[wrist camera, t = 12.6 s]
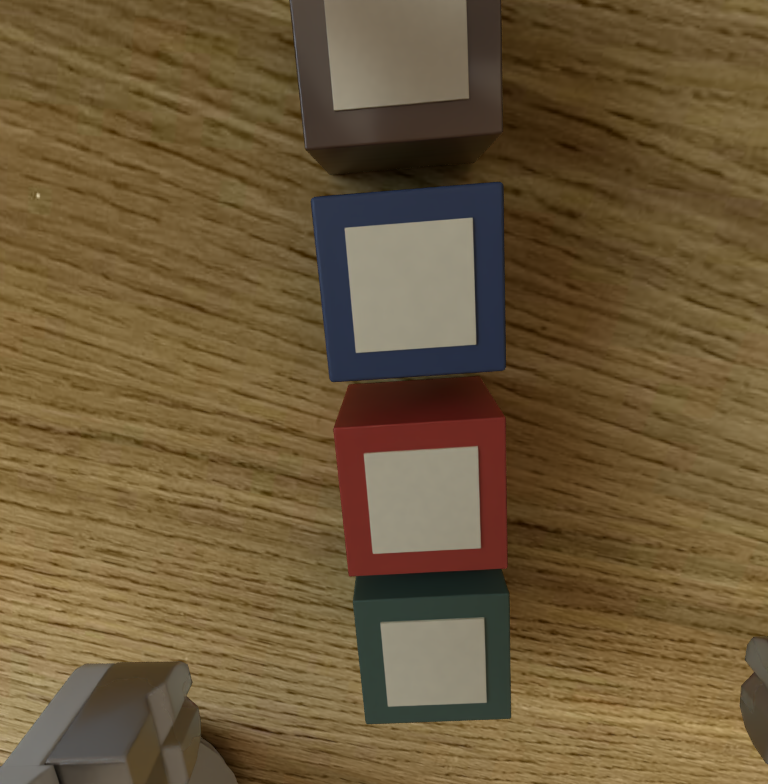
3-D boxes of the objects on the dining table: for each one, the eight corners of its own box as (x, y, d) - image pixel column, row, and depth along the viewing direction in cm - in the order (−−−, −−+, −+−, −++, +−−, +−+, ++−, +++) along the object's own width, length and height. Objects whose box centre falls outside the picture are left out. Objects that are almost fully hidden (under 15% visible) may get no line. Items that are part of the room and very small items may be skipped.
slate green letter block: (362, 522, 20) (352, 603, 15) (484, 515, 19) (510, 595, 15) (372, 624, 21) (365, 727, 16) (487, 619, 21) (511, 721, 16)
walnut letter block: (313, 7, 15) (278, -90, 11) (470, -8, 15) (501, -113, 11) (329, 175, 16) (304, 149, 12) (475, 162, 16) (504, 133, 12)
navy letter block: (332, 208, 17) (308, 196, 12) (475, 197, 17) (504, 180, 12) (345, 349, 18) (329, 384, 14) (480, 340, 18) (507, 372, 13)
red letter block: (348, 384, 18) (332, 428, 14) (479, 375, 18) (506, 417, 14) (359, 503, 19) (348, 578, 15) (482, 496, 19) (508, 570, 15)
